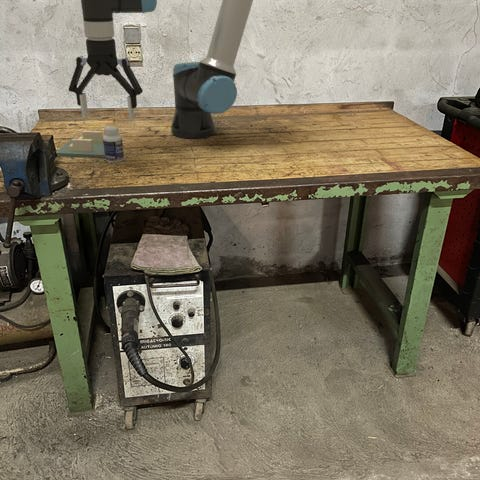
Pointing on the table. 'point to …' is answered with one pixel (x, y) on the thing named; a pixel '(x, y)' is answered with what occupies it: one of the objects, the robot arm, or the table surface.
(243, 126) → the table surface
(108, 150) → the pill bottle
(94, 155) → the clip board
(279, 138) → the table surface
